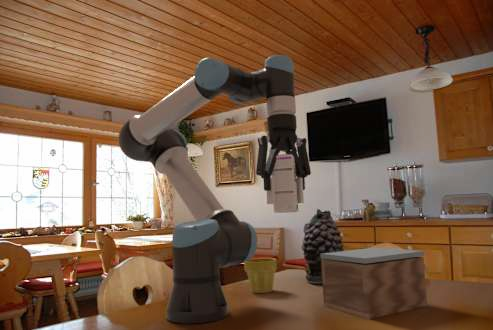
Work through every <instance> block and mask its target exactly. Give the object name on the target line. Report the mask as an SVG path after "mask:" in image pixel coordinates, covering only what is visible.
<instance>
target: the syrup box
mask: <svg viewBox="0 0 493 330" xmlns="http://www.w3.org/2000/svg"><path fill="white" fill-rule="evenodd" d="M271 178H274V184H275V204H273V212H274V213H276V214H277V213H280V214H281V213H298V212H299V203H298V197H297V182H296V178H297V177H296V168H295V160H294V156H293V155H292V154H286V153H285V154H284V153H282V154H278V155H277V156H276V163H275V166H274V169H273V172H272V175H271Z"/></svg>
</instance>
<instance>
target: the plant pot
mask: <svg viewBox="0 0 493 330" xmlns="http://www.w3.org/2000/svg"><path fill="white" fill-rule="evenodd" d="M243 264H244V272H245V273H246V274H247V278H248V282H249V287H250V290H251V292H252V293H254V294H266V293H271V292H272V291H273V290H274V284H275V283H274V282H275V274H276V271H277V270H278V262H277V258H273V257H258V258H256V257H255V258H251V259H250V260H248V261H246V262H244V263H243Z"/></svg>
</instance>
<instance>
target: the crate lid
mask: <svg viewBox="0 0 493 330" xmlns="http://www.w3.org/2000/svg"><path fill="white" fill-rule="evenodd" d="M320 257H321V258H322V259H330V260H338V261H347V262H355V263H364V264H367V263H374V262H382V261H389V260H397V259H404V258H412V257H425V250H413V249H402V248H401V249H400V248H399V249H398V248H386V247H385V248H383V247H371V248H370V247H369V248H363V249H362V248H361V249H353V250H345V251H341V252H332V253H323V254H320Z"/></svg>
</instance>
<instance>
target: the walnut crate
mask: <svg viewBox="0 0 493 330" xmlns="http://www.w3.org/2000/svg"><path fill="white" fill-rule="evenodd" d="M424 257H425V256H420V257H412V258H404V259H397V260H389V261H382V262H374V263H367V264H364V263H355V262H347V261H338V260H330V259H321V264H322V281H323V283H322V297H323V306H324V307H327V308H329V309H334V310H337V311H339V312H340V311H341V312H344V313H348V314H351V315H354V316H358V317H361V318H365V319H368V320H370V319H376V318H379V317H380V318H381V317H385V316H388V315H393V314H398V313H402V312H406V311H407V312H408V311H411V310H416V309H420V308H425V307H428V293H427V292H428V291H427V283H426V282H427V281H426V269H425V259H424Z"/></svg>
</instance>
